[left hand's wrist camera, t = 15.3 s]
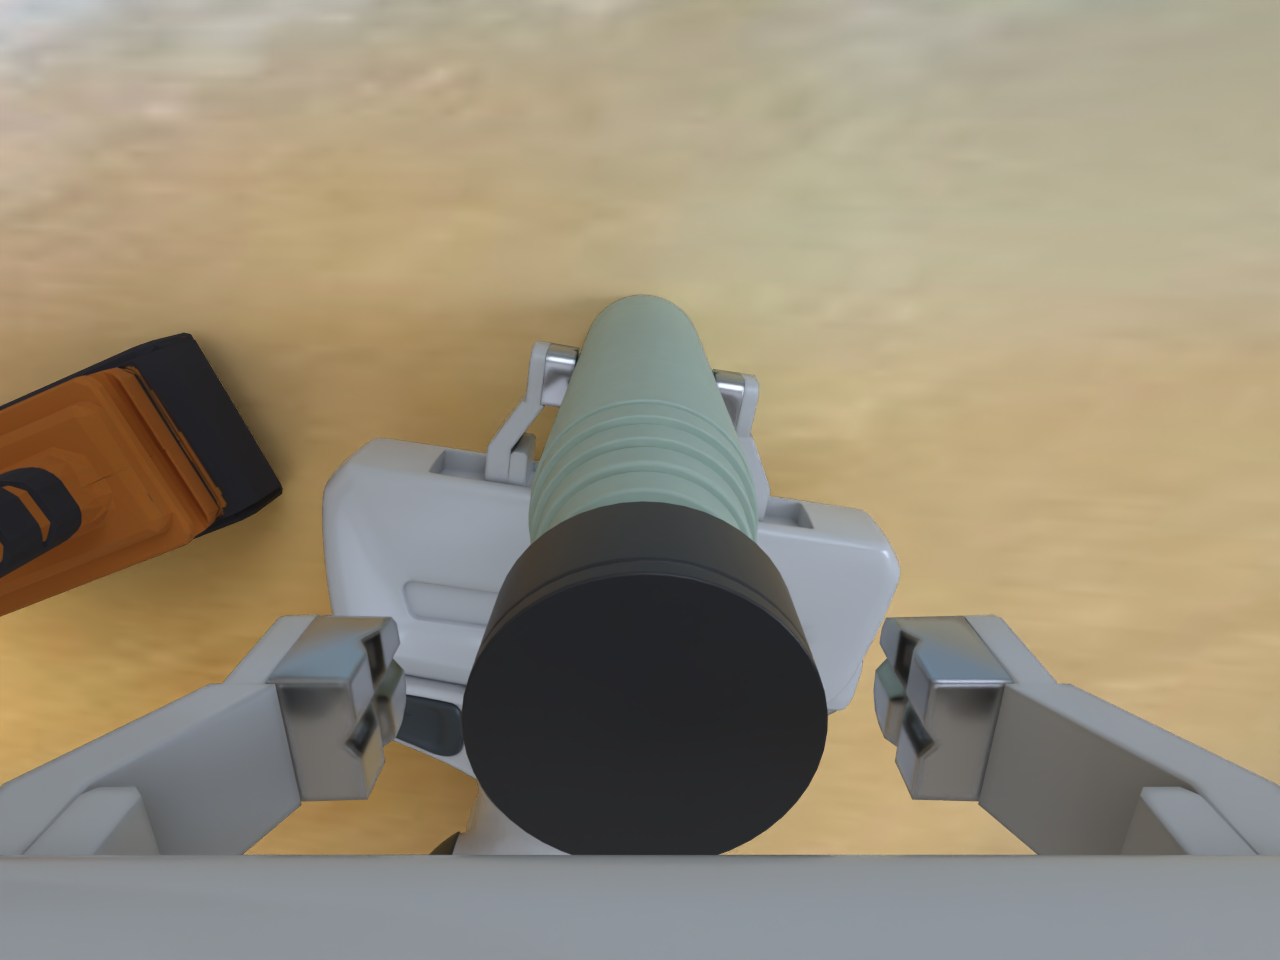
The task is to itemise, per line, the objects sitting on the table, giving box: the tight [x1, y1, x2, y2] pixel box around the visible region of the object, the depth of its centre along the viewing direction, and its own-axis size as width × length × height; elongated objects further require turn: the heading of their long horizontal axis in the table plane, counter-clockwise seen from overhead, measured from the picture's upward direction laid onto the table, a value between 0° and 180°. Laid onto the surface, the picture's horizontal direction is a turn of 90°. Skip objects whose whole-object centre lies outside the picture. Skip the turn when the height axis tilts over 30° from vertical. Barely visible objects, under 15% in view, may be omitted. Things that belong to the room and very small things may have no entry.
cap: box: [461, 501, 828, 855], centre depth 10 cm, size 4×4×2 cm
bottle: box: [528, 295, 758, 545], centre depth 19 cm, size 5×5×22 cm
